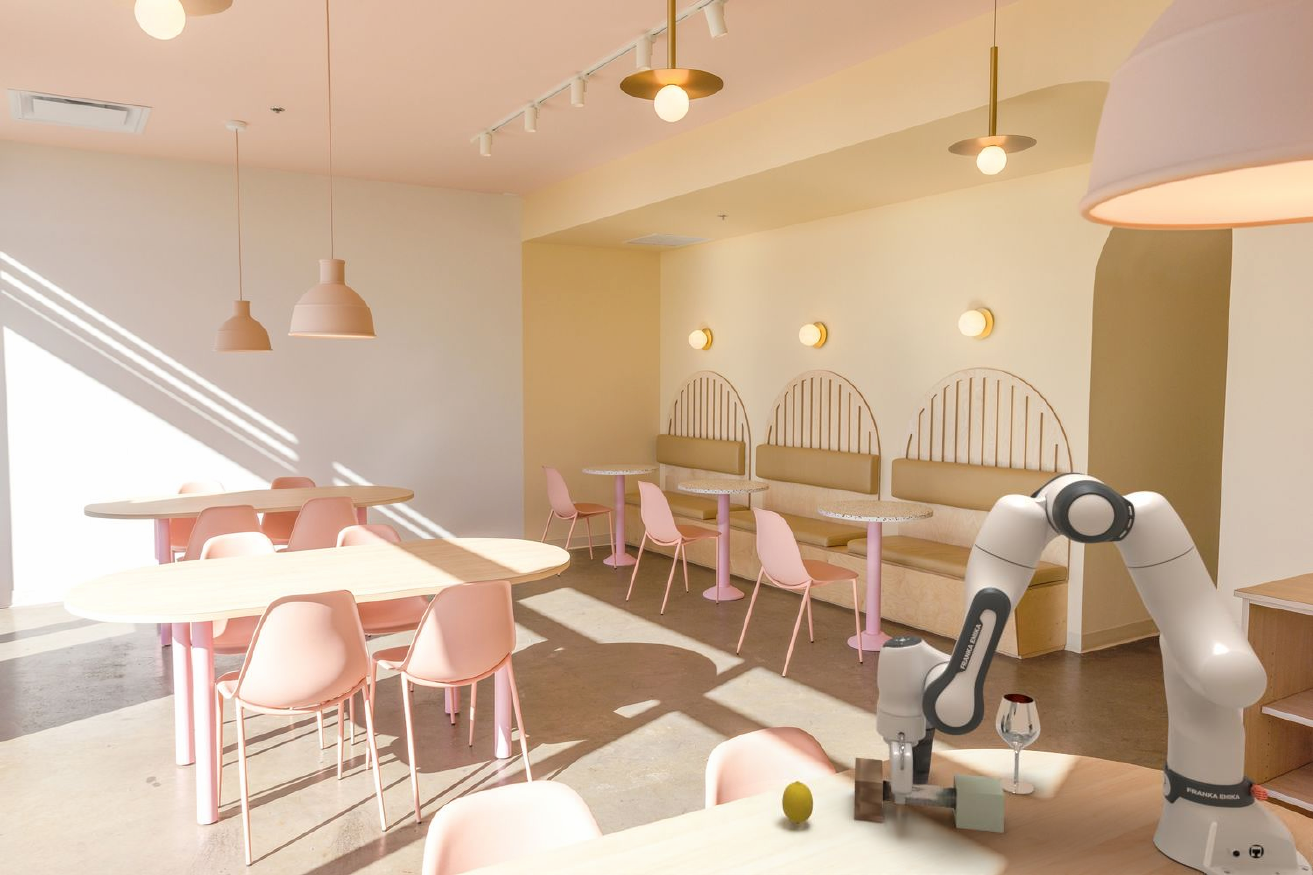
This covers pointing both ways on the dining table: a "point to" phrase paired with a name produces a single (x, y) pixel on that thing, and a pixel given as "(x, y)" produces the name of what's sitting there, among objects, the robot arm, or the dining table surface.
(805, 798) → the lemon
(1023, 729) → the wineglass
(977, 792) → the sage green block
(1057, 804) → the dining table surface
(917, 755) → the beverage cup
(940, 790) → the tube
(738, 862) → the dining table surface
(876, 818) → the socket
